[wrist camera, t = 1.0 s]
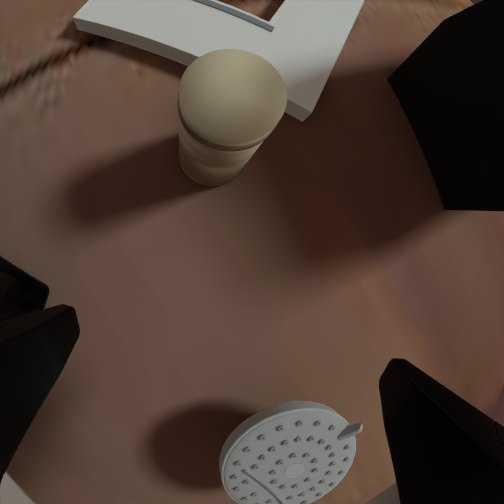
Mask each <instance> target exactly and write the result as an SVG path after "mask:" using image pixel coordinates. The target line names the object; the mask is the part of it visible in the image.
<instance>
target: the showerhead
mask: <svg viewBox="0 0 504 504" xmlns="http://www.w3.org/2000/svg"><path fill="white" fill-rule="evenodd" d="M362 428H363V425H362V424H361V423H357V424H354V425H351V426H350V424H349V423H348V422H347V421H346V420H345V419H344V418H343V417H341V416H340V415H339V414H338V413H337V412H335V411H334V410H333V409H331V408H330V407H328V406H326V405H323V404H320V403H317V402H311V401H291V402H285V403H281V404H277V405H274V406H271V407H268V408H266V409H263V410H261V411H259V412H257V413H255V414H254V415H252V416H250V417H249V418H247V419H246V420H245V421H243V422H242V423H241V424H240V425H238V426H237V427H236V428H235V429H234V431H233V432H232V433H231V434H230V435H229V437H228V438H227V440H226V441H225V443H224V445H223V447H222V450H221V453H220V457H219V469H220V475H221V481H222V484H223V487H224V489H225V491H226V492H227V494H228V495H229V496H230V497H231V498H232V499H233V500H234V501H236V502H237V503H239V504H310V503H312V502H314V501H315V500H317V499H319V498H321V497H322V496H324V495H325V494H327V493H328V492H329V491H331V490H332V489H333V488H334V487H335V486H336V485H337V484H338V483H339V482H340V481H341V480H342V479H343V477H344V476H345V475H346V473H347V472H348V470H349V468H350V466H351V464H352V462H353V459H354V456H355V451H356V438H355V435H356V434H358V433H360V432H362Z"/></svg>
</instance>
